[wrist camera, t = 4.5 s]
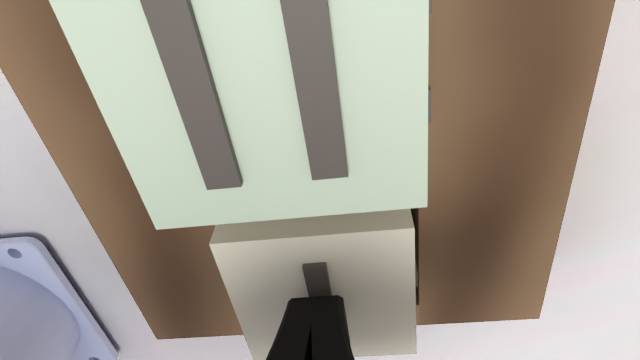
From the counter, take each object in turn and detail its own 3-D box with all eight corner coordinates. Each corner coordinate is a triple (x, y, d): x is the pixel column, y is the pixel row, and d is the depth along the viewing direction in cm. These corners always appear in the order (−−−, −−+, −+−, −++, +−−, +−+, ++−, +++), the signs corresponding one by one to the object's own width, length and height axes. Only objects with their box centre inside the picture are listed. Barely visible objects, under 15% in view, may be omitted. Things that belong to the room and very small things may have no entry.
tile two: (204, 137, 11) (152, 235, 8) (128, -93, 8) (3, -78, 5) (409, 116, 10) (438, 212, 7) (404, -140, 8) (448, -154, 5)
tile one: (269, 276, 16) (253, 366, 13) (236, 166, 13) (207, 248, 10) (406, 267, 16) (422, 357, 13) (402, 150, 13) (422, 232, 10)
